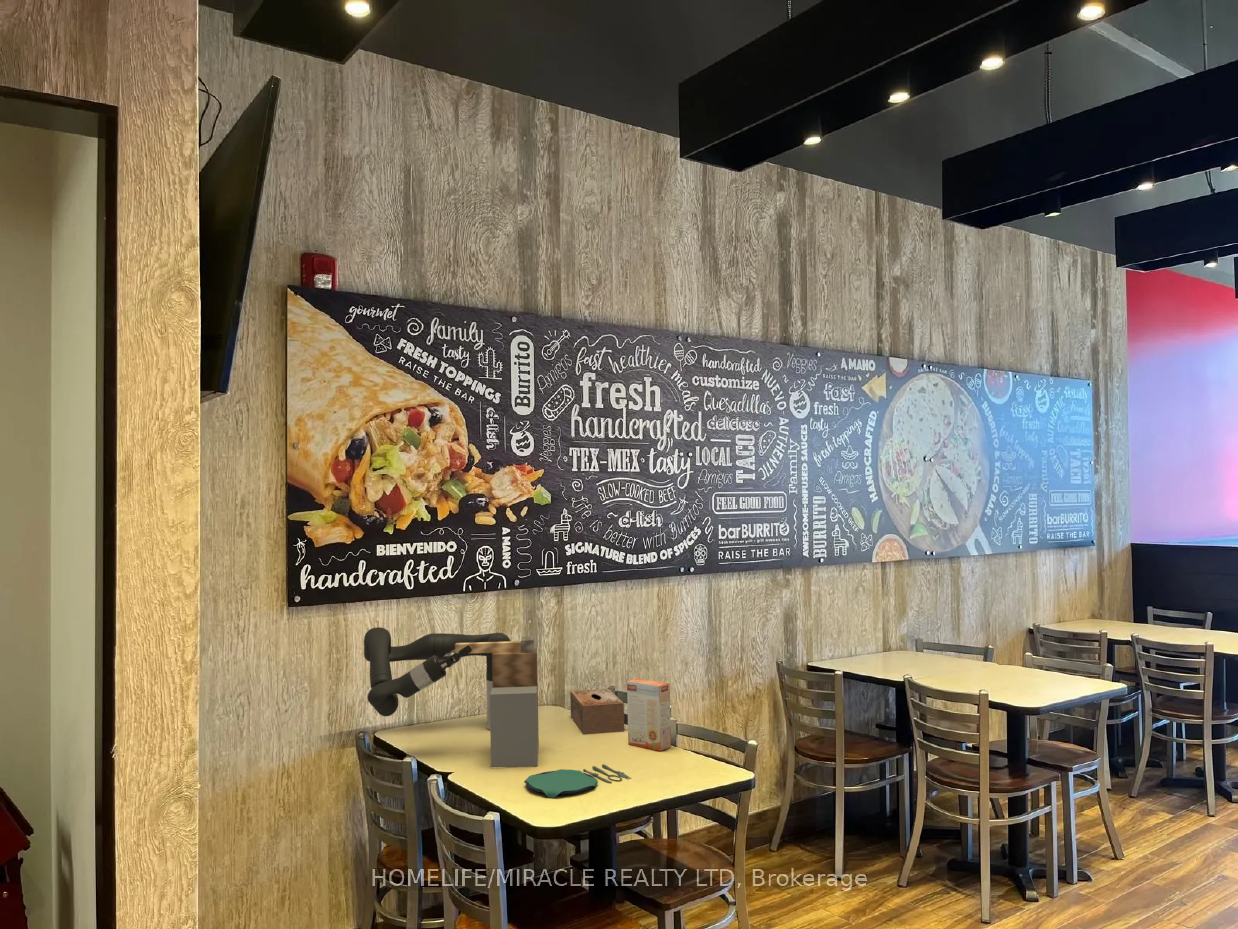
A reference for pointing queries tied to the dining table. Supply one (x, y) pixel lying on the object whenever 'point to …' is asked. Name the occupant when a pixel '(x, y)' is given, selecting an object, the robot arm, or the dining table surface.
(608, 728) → the tissue box cover
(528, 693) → the grey tall block
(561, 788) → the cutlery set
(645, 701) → the cracker box
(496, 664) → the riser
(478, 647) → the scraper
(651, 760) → the dining table surface
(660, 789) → the dining table surface
